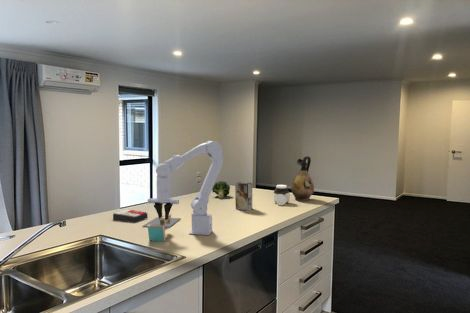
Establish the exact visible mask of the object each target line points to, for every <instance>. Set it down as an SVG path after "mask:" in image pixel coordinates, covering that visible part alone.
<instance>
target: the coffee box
mask: <svg viewBox="0 0 470 313" xmlns="http://www.w3.org/2000/svg"><path fill="white" fill-rule="evenodd" d="M234 187H235V188H234V190H235V196H234V197H235V210H240V211H241V210H242V211H250V210H252V209H253V182H245V181H244V182H243V181H238V182H235V183H234Z"/></svg>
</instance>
